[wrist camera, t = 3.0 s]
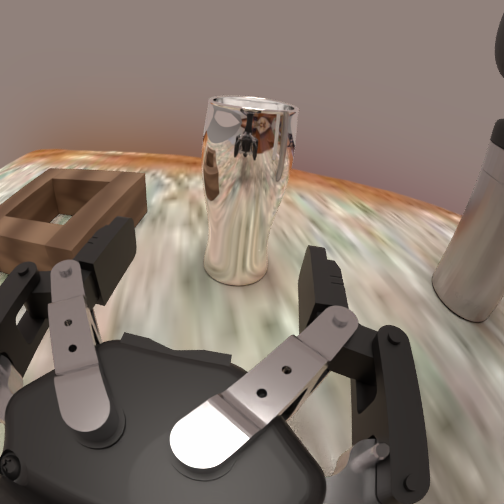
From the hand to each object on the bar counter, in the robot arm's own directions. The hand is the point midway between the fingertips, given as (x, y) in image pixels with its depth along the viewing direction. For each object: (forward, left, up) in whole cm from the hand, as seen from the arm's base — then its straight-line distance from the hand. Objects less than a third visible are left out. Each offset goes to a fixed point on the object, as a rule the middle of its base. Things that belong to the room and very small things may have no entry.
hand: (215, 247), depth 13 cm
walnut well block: (+1, -22, -10) cm, 24 cm away
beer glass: (-10, -6, -10) cm, 15 cm away
